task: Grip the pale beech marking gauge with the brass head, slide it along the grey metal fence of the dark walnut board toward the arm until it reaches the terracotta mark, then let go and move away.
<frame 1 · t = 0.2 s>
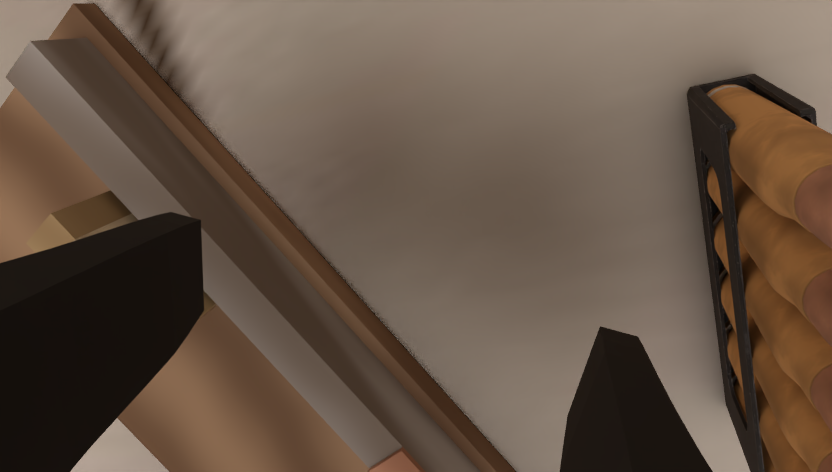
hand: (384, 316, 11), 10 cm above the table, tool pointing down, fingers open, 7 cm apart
board: (262, 384, 26), on the table
ammunition clip: (738, 252, 20), on the table
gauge: (135, 290, 25), point 1 cm above the table, touching board
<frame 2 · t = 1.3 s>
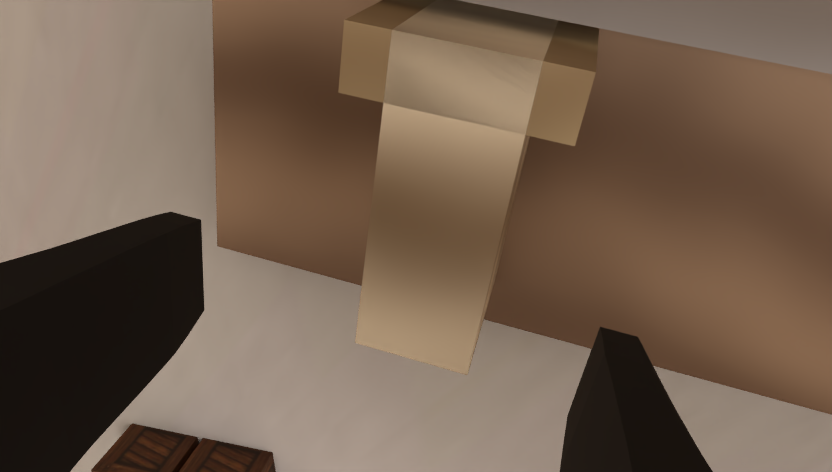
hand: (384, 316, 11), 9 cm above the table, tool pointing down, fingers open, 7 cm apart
board: (690, 172, 18), on the table
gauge: (471, 152, 18), point 1 cm above the table, touching board
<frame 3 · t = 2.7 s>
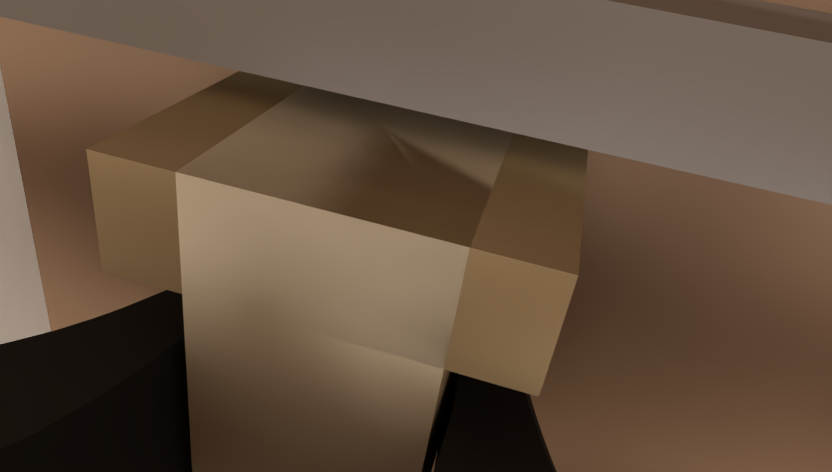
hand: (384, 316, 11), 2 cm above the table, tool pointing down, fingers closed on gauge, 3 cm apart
board: (731, 326, 12), on the table
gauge: (396, 292, 12), point 1 cm above the table, touching board, gripper
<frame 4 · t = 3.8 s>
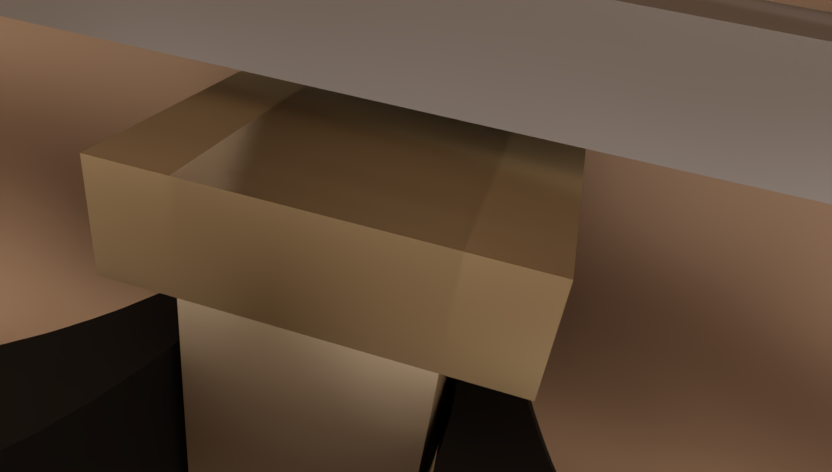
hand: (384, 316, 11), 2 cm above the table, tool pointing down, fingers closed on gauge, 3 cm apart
board: (602, 292, 12), on the table
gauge: (395, 294, 12), point 1 cm above the table, touching gripper
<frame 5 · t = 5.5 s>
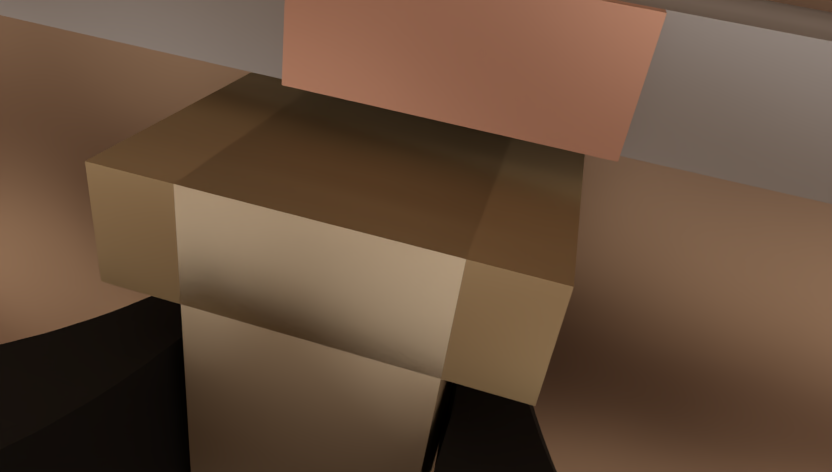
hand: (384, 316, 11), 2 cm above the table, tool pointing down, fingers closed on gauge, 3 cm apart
board: (170, 180, 13), on the table
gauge: (395, 297, 12), point 1 cm above the table, touching board, gripper
when the fingers open (2 cm above the table, at t = 6.9 s): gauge stays where it is, resting on board.
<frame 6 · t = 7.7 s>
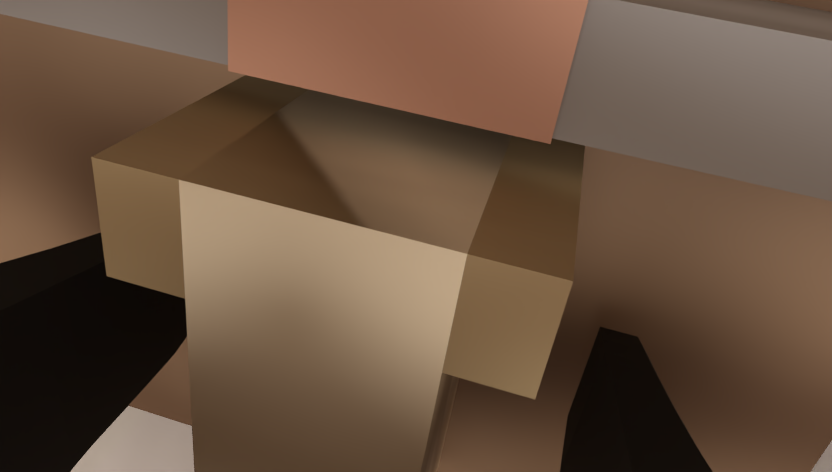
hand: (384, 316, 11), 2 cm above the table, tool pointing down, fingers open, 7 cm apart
board: (141, 170, 14), on the table
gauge: (396, 294, 12), point 1 cm above the table, touching board
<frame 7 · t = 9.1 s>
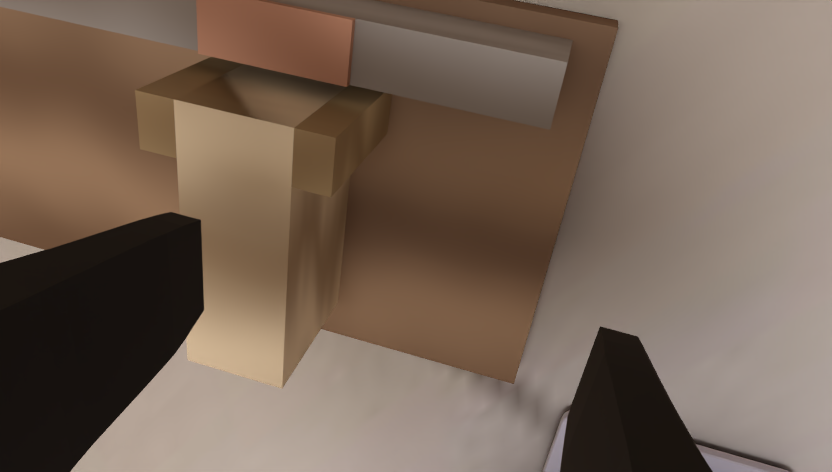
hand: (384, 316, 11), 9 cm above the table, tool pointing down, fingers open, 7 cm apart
board: (152, 119, 22), on the table
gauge: (303, 189, 21), point 1 cm above the table, touching board
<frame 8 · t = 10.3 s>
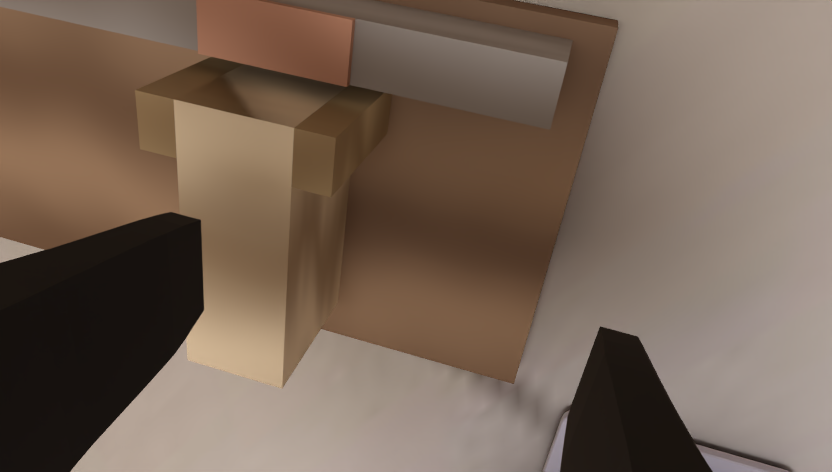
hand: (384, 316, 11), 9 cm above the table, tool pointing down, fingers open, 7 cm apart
board: (152, 119, 22), on the table
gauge: (303, 189, 21), point 1 cm above the table, touching board
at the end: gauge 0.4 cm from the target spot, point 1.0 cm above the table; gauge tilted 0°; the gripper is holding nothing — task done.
